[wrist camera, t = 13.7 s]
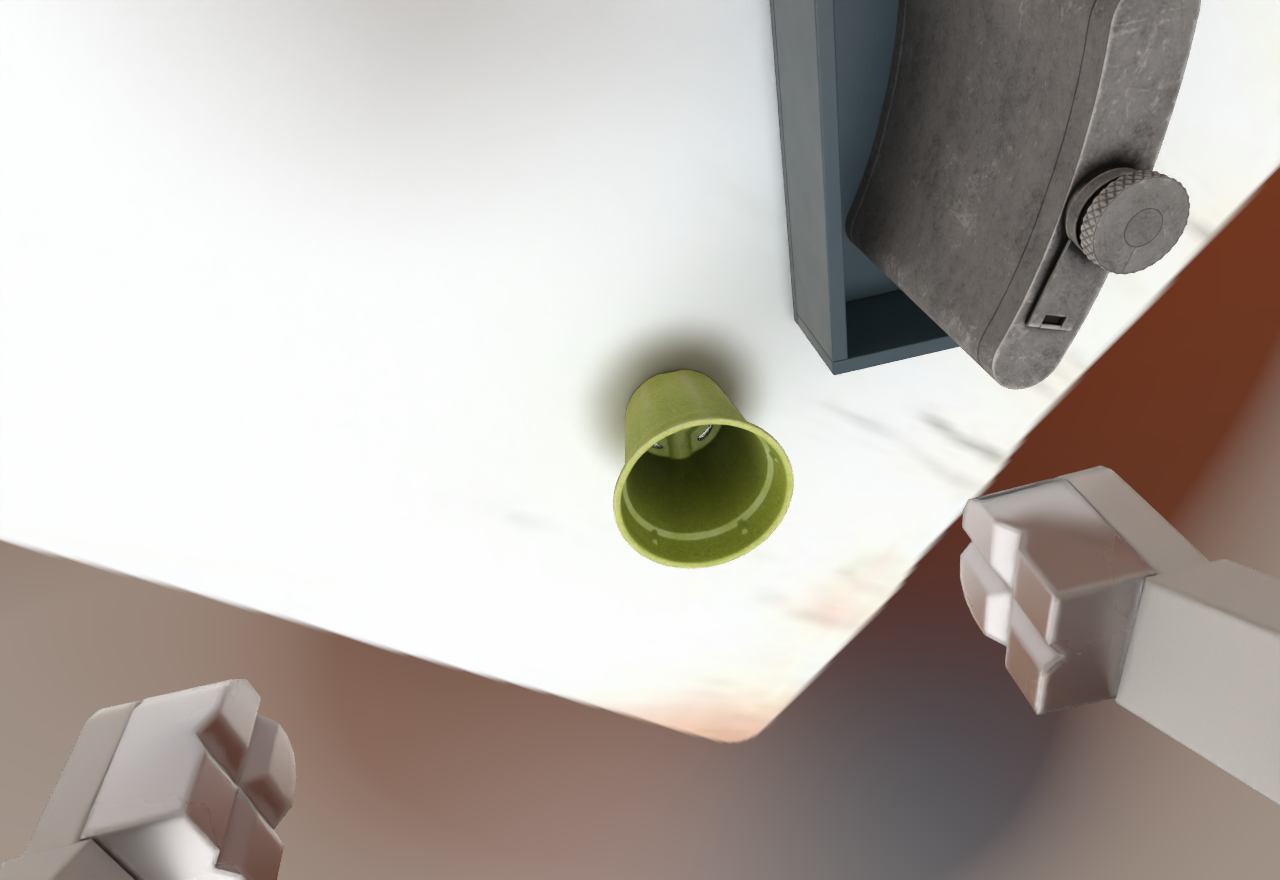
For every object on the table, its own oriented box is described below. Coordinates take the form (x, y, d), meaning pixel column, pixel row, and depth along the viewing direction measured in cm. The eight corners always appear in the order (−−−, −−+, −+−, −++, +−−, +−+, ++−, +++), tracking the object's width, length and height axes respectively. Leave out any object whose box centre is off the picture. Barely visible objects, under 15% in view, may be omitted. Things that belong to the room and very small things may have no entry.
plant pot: (565, 437, 50) (577, 528, 43) (656, 312, 46) (687, 389, 39) (689, 498, 54) (719, 591, 46) (782, 387, 50) (830, 469, 43)
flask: (983, -55, 38) (1301, -23, 23) (903, 248, 46) (1103, 420, 31) (908, -63, 37) (1185, -35, 22) (839, 246, 45) (1012, 420, 30)
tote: (759, -130, 36) (807, -134, 30) (1043, -190, 36) (1141, -205, 31) (794, 321, 48) (833, 376, 42) (1006, 272, 48) (1072, 321, 43)
